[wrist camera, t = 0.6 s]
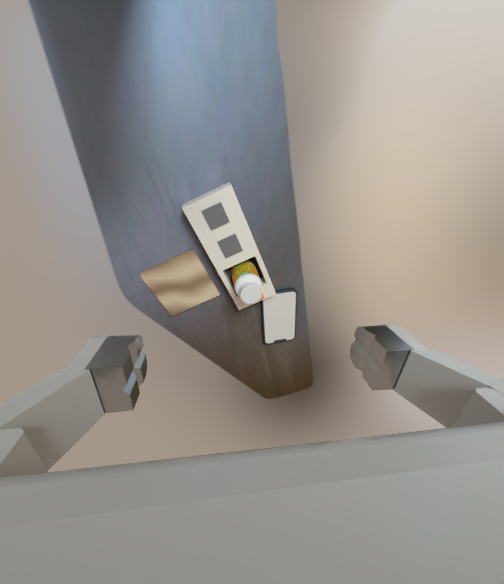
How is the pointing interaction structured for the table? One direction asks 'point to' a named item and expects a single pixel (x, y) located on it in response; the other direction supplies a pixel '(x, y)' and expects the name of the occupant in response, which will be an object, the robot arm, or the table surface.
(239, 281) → the supplement bottle
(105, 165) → the table surface
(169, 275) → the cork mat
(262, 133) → the table surface
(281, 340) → the phone case
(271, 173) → the table surface
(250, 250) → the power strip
